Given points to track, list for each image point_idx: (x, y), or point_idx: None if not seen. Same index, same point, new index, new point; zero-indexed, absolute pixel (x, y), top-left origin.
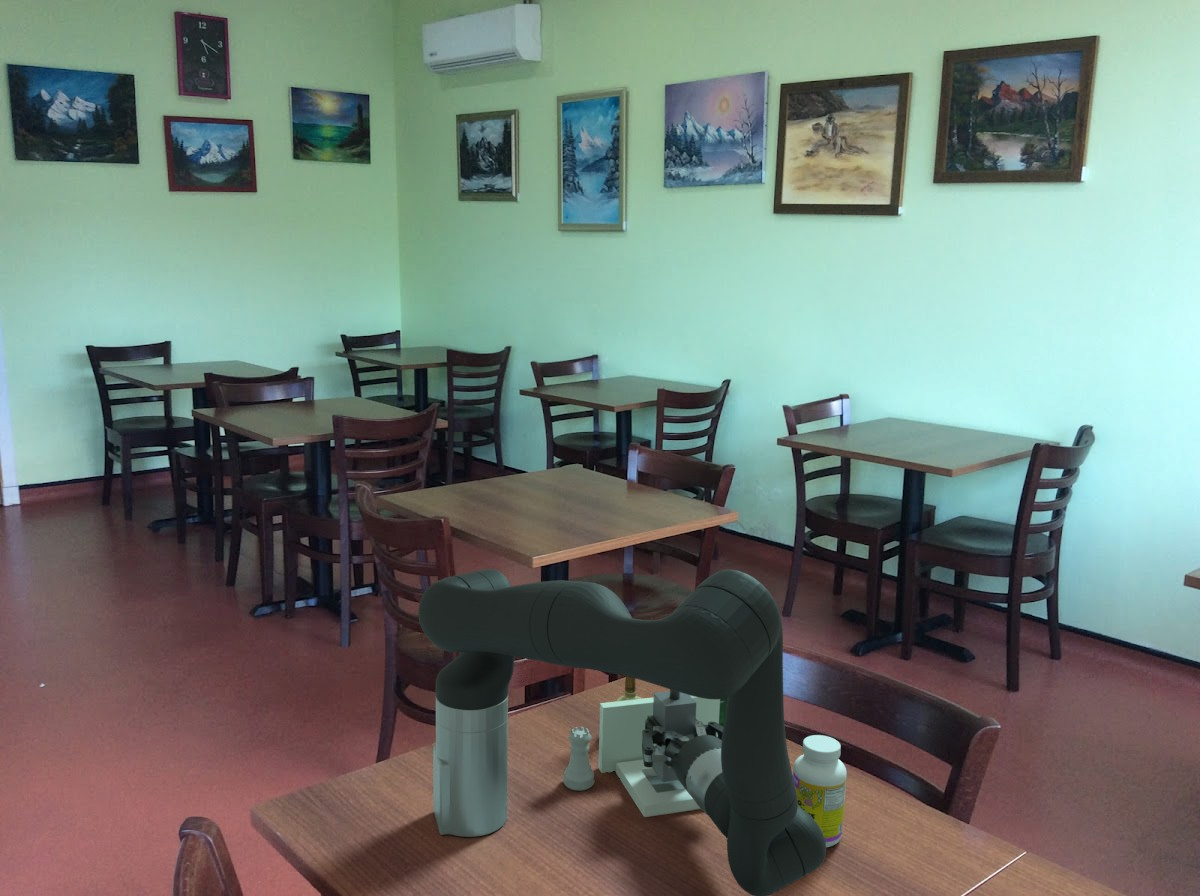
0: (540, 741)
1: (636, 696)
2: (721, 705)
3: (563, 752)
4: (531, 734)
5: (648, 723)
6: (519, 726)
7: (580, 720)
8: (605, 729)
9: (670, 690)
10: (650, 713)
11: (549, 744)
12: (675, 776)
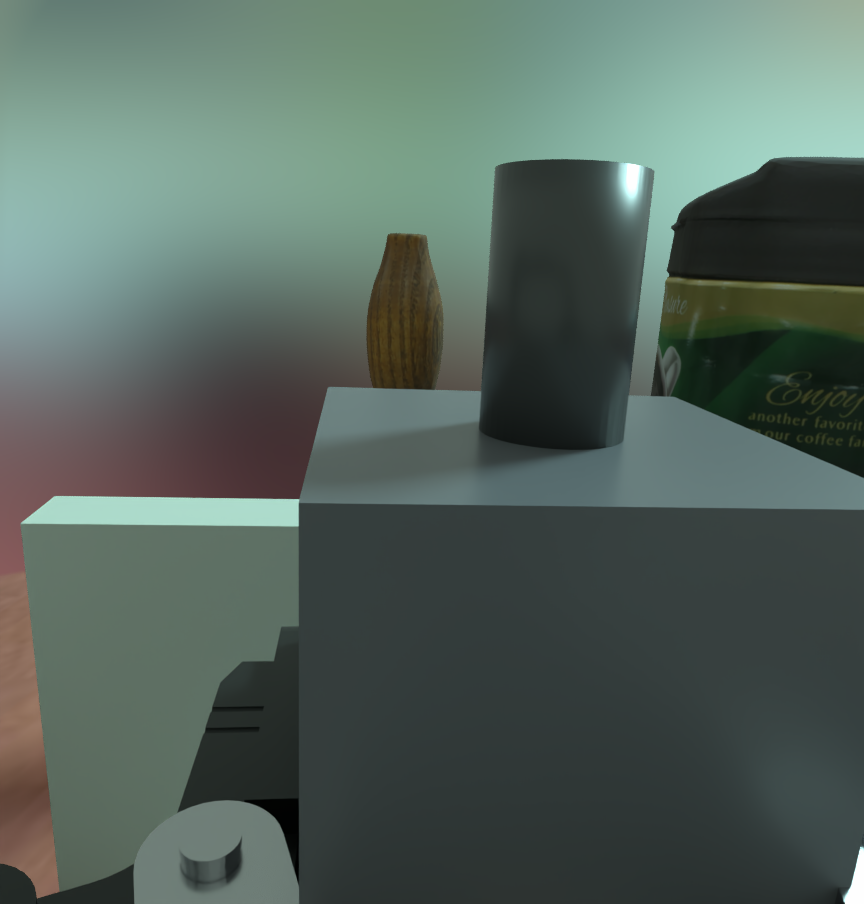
0: (14, 663)
1: None
2: None
3: (36, 735)
4: (23, 628)
5: (223, 718)
6: (26, 593)
7: None
8: (55, 679)
9: (488, 308)
10: None
11: (30, 682)
12: None
